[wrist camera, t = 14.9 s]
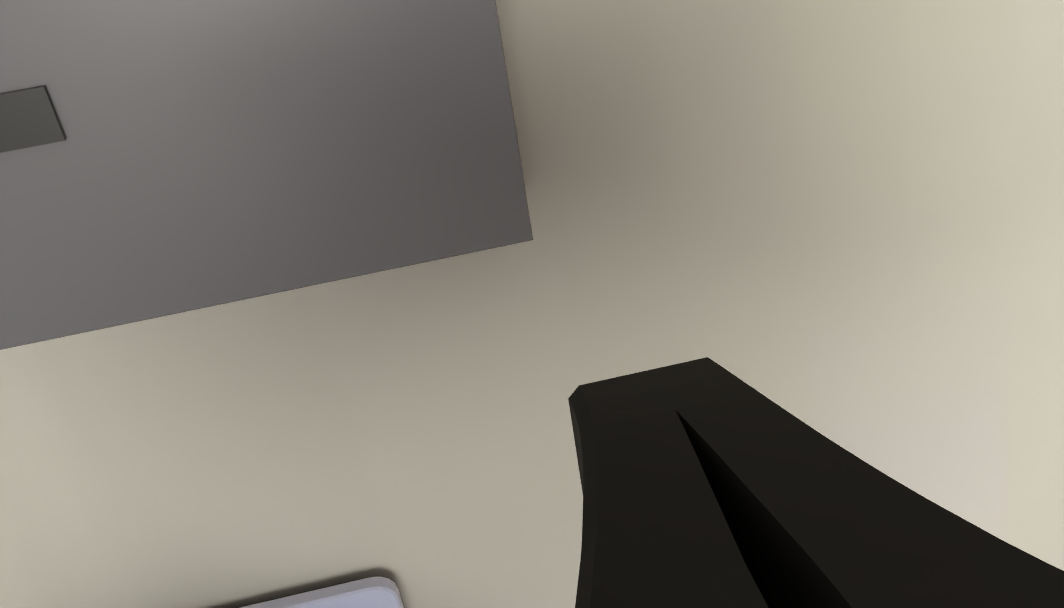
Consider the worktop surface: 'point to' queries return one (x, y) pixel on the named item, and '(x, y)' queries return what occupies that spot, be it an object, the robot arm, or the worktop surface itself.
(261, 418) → the worktop surface
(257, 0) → the console
